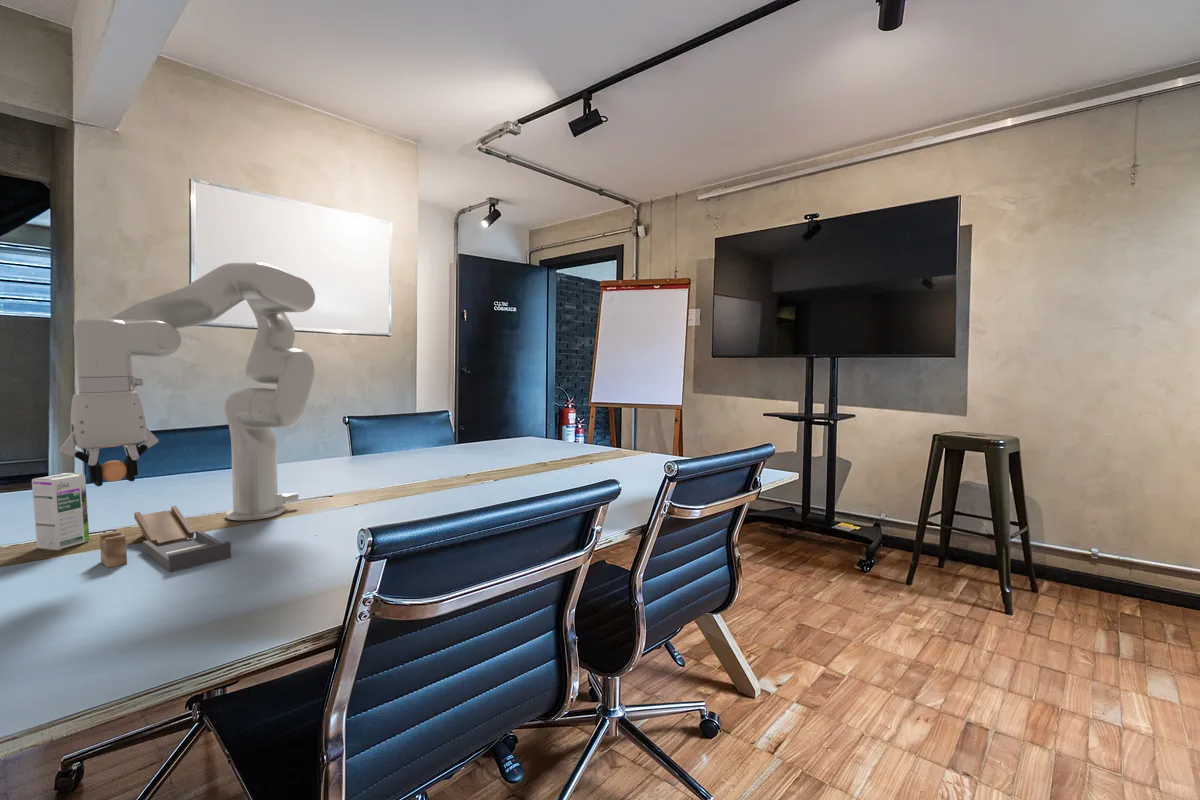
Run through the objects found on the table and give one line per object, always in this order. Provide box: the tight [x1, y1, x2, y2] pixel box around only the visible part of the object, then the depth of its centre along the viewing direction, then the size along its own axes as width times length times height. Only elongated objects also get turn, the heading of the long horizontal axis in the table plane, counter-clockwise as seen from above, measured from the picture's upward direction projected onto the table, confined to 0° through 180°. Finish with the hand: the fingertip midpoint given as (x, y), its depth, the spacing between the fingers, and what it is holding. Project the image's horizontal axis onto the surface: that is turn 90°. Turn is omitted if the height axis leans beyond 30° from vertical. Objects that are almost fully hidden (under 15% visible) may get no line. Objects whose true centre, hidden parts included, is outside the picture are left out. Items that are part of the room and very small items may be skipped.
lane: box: [142, 529, 232, 573], centre depth 107 cm, size 10×17×3 cm, turn 53°
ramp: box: [133, 505, 195, 546], centre depth 116 cm, size 7×12×6 cm, turn 53°
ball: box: [101, 459, 128, 483], centre depth 102 cm, size 4×4×4 cm
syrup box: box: [31, 472, 90, 551], centre depth 111 cm, size 6×6×14 cm
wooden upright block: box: [99, 531, 128, 569], centre depth 102 cm, size 3×5×5 cm, turn 53°
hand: (114, 481), depth 102 cm, fingers closed on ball, 4 cm apart
